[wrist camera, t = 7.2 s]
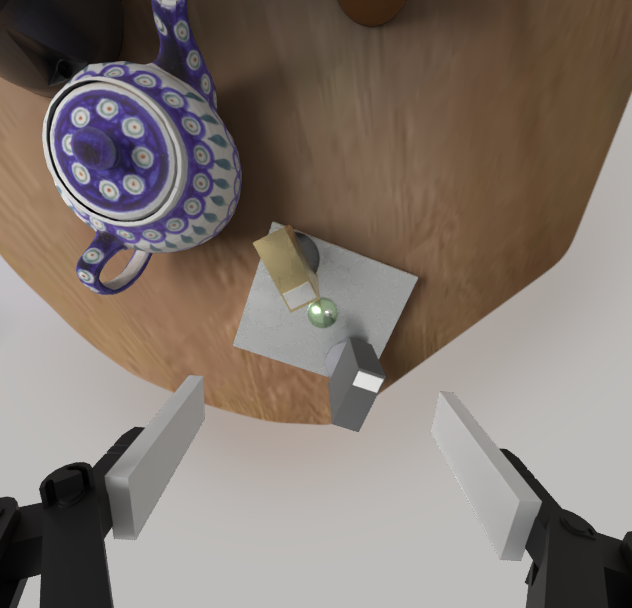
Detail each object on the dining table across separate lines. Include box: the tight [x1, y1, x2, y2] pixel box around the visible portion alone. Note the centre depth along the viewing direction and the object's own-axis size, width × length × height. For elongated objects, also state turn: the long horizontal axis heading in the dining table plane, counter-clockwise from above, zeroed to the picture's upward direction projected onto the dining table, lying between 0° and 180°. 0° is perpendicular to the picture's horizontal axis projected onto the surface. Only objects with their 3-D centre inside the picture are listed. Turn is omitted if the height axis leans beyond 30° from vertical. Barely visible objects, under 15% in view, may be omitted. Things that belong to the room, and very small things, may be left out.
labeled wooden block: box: [253, 224, 320, 313], centre depth 29 cm, size 7×6×8 cm
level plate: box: [233, 221, 418, 377], centre depth 36 cm, size 18×16×3 cm
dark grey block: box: [326, 337, 386, 432], centre depth 33 cm, size 7×6×8 cm
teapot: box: [42, 0, 242, 295], centre depth 26 cm, size 25×15×15 cm, turn 151°
